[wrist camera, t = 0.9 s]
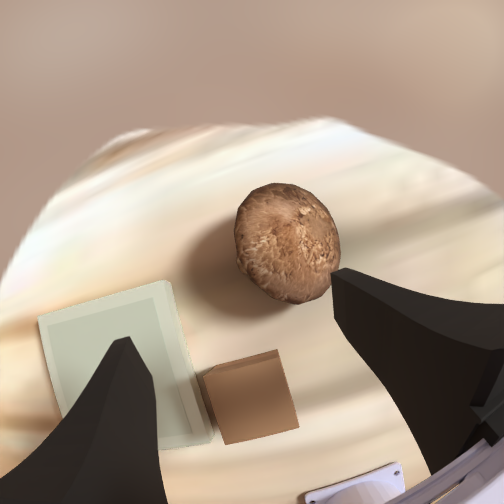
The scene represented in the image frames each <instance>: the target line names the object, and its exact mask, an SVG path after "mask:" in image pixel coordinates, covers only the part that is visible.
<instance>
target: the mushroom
mask: <svg viewBox="0 0 504 504" xmlns="http://www.w3.org/2000/svg"><path fill="white" fill-rule="evenodd" d="M234 235H235V242H236V248H237V261H236V262H237V264H238V267H239V269H240V270H241V271H242V272H243V274H246V275H248V276H249V277H250V279H251V280H252V281H253V282H254V283H255V284H256V285H258V286H259V287H260V288H261V289H262V290H264V291H265V292H266V293H267V294H268V295H270V296H271V297H272V298H274V299H278V300H281V301H284V302H288V303H291V304H298V305H299V304H302V303H305V302H308V301H311V300H314V299H317V298H319V297H321V296H322V295H323V294H324V293H325V292H326V290H327V289H328V288H329V287H330V285H331V275H330V273H332V272H334V271H337V270H338V268H339V263H340V256H341V250H340V242H339V236H338V232H337V228H336V226H335V223H334V221H333V218H332V217H331V215H330V213H329V211H328V209H327V208H326V207H325V206H324V205H323V204H322V203H321V202H320V201H319V200H318V199H317V198H316V197H315V196H314V195H313V194H312V193H311V192H309V191H307V190H305V189H303V188H300V187H298V186H296V185H293V184H283V183H271V184H268V185H265V186H262V187H260V188H257V189H255V190H253V191H251V193H250V194H249V195H248V196H247V197H246V199H245V200H244V201H243V202H242V204H241V205H240V206H239V208H238V211H237V217H236V222H235V228H234Z"/></svg>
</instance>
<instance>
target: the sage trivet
mask: <svg viewBox="0 0 504 504" xmlns="http://www.w3.org/2000/svg"><path fill="white" fill-rule="evenodd" d="M37 318H38V324H39V329H40V334H41V339H42V344H43V349H44V353H45V358H46V362H47V366H48V370H49V374H50V378H51V382H52V386H53V389H54V393H55V396H56V399H57V403H58V406H59V409H60V412H61V415H62V418H64V417H65V416H66V414H67V413H68V412H69V410H70V409H71V408H72V406H73V405H74V403H75V402H76V400H77V399H78V397H79V396H80V394H81V393H82V391H83V390H84V388H85V387H86V385H87V383H88V382H89V380H90V379H91V377H92V375H93V374H94V372H95V370H96V369H97V367H98V365H99V364H100V362H101V360H102V358H103V357H104V355H105V353H106V352H107V350H108V348H109V347H110V345H111V344H112V342H113V341H114V340H116V339H120V338H124V337H127V336H130V338H131V339H132V341H133V343H134V345H135V347H136V349H137V350H138V352H139V354H140V356H141V357H142V359H143V361H144V363H145V364H146V366H147V368H148V370H149V371H150V373H151V375H152V376H153V383H154V389H155V396H156V408H157V438H158V450H166V449H174V448H181V447H188V446H195V445H201V444H207V443H211V441H212V439H213V437H214V435H215V434H214V431H213V428H212V425H211V422H210V419H209V416H208V413H207V410H206V407H205V404H204V401H203V398H202V395H201V392H200V388H199V385H198V382H197V379H196V375H195V372H194V369H193V365H192V362H191V358H190V355H189V351H188V348H187V344H186V341H185V337H184V333H183V330H182V326H181V322H180V318H179V314H178V310H177V307H176V303H175V299H174V295H173V290H172V286H171V283H170V282H168V281H165V280H160V281H157V282H153V283H150V284H146V285H143V286H139V287H136V288H133V289H129V290H126V291H122V292H119V293H115V294H112V295H108V296H105V297H102V298H98V299H95V300H91V301H88V302H84V303H81V304H77V305H74V306H70V307H67V308H64V309H60V310H57V311H53V312H50V313H46V314H43V315H39V316H37Z"/></svg>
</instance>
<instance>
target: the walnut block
mask: <svg viewBox="0 0 504 504" xmlns="http://www.w3.org/2000/svg"><path fill="white" fill-rule="evenodd" d="M203 379H204V382H205V386H206V389H207V392H208V395H209V398H210V401H211V405H212V408H213V411H214V414H215V417H216V420H217V423H218V426H219V429H220V432H221V435H222V438H223V441H224V443H225V445H228V444H233V443H238V442H243V441H248V440H252V439H257V438H261V437H265V436H269V435H273V434H277V433H281V432H285V431H289V430H292V429H296V428H299V423H298V419H297V415H296V411H295V408H294V404H293V401H292V397H291V394H290V390H289V387H288V384H287V380H286V377H285V373H284V370H283V367H282V363H281V360H280V356H279V353H278V349H276V350H272V351H269V352H265V353H261V354H258V355H254V356H250V357H247V358H243V359H239V360H235V361H231V362H227V363H223V364H219V365H216V366H215V367H214V368H213V369H212V370H210V371H209V372H208V373H207V374H205V375H204V376H203Z"/></svg>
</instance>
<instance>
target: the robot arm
mask: <svg viewBox="0 0 504 504" xmlns="http://www.w3.org/2000/svg"><path fill="white" fill-rule="evenodd" d="M330 275H331V285H332V297H333V308H334V319H335V320H336V322H337V324H338V325H339V327H340V329H341V331H342V332H343V334H344V335H345V337H346V339H347V340H348V341H349V343H350V344H351V345H352V346H353V348H354V349H355V350H356V351H357V353H358V354H359V355H360V356H361V357H362V359H363V360H364V361H365V362H366V364H367V365H368V366H369V367H370V368H371V370H372V371H373V372H374V373H375V375H376V376H377V377H378V378H379V380H380V381H381V382H382V384H383V385H384V386H385V388H386V389H387V391H388V392H389V394H390V396H391V397H392V399H393V401H394V402H395V404H396V405H397V407H398V409H399V411H400V412H401V414H402V416H403V418H404V419H405V421H406V423H407V425H408V427H409V428H410V430H411V432H412V434H413V436H414V438H415V440H416V442H417V444H418V446H419V448H420V450H421V453H422V455H423V457H424V459H425V461H426V464H427V466H428V468H429V471H430V473H431V476H430V477H429V478H427V479H426V480H424V481H422V482H421V483H419V484H418V485H416V486H414V487H412V488H411V489H409V490H407V491H406V492H405V485H404V479H403V472H402V466H401V464H400V463H398V462H394V463H392V464H389V465H387V466H384V467H382V468H380V469H377V470H374V471H372V472H369V473H367V474H364V475H361V476H359V477H356V478H353V479H350V480H347V481H344V482H341V483H338V484H335V485H332V486H329V487H325V488H322V489H319V490H315V491H311V492H308V493H307V494H305V496H304V498H305V502H306V504H430V503H432V502H433V501H435V500H437V499H438V498H440V497H441V496H443V495H444V494H445V493H447V492H448V491H450V490H451V489H453V488H454V487H455V486H457V485H458V484H459V485H458V486H457V487H456V488H454V489H453V490H452V491H451V492H449V493H448V494H447V495H446V496H444V497H443V498H442V499H440V500H439V501H438V502H436V503H435V504H504V304H483V303H471V302H462V301H455V300H449V299H444V298H439V297H434V296H430V295H426V294H422V293H419V292H415V291H412V290H408V289H405V288H402V287H399V286H396V285H393V284H390V283H388V282H385V281H382V280H379V279H377V278H374V277H371V276H369V275H366V274H363V273H361V272H358V271H355V270H352V269H349V268H343V269H340V270H337V271H334V272H332V273H330ZM395 471H398V472H397V473H396V474H394V472H395ZM313 500H314V501H315V502H313V503H310V501H313ZM0 504H168V502H167V498H166V494H165V490H164V486H163V481H162V476H161V471H160V465H159V456H158V438H157V408H156V396H155V389H154V383H153V376H152V375H151V373H150V371H149V370H148V368H147V366H146V364H145V363H144V361H143V359H142V357H141V356H140V354H139V352H138V350H137V349H136V347H135V345H134V343H133V341H132V339H131V338H130V336H127V337H124V338H120V339H116V340H114V341H113V342H112V344H111V345H110V347H109V348H108V350H107V352H106V353H105V355H104V357H103V358H102V360H101V362H100V364H99V365H98V367H97V369H96V370H95V372H94V374H93V375H92V377H91V379H90V380H89V382H88V383H87V385H86V387H85V388H84V390H83V391H82V393H81V394H80V396H79V397H78V399H77V400H76V402H75V403H74V405H73V406H72V408H71V409H70V410H69V412H68V413H67V414H66V416H65V417H64V418H63V420H62V421H61V422H60V423H59V425H58V426H57V427H56V428H55V429H54V430H53V432H52V433H51V434H50V435H49V436H48V437H47V438H46V439H45V440H44V441H43V443H42V444H41V445H40V446H39V447H38V448H37V449H36V450H35V451H34V452H33V453H31V454H30V455H29V456H28V457H27V458H26V459H25V460H24V461H23V462H21V463H20V464H19V465H18V466H17V467H15V468H14V469H13V470H11V471H10V472H9V473H7V474H6V475H4V476H3V477H2V478H0Z"/></svg>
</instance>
